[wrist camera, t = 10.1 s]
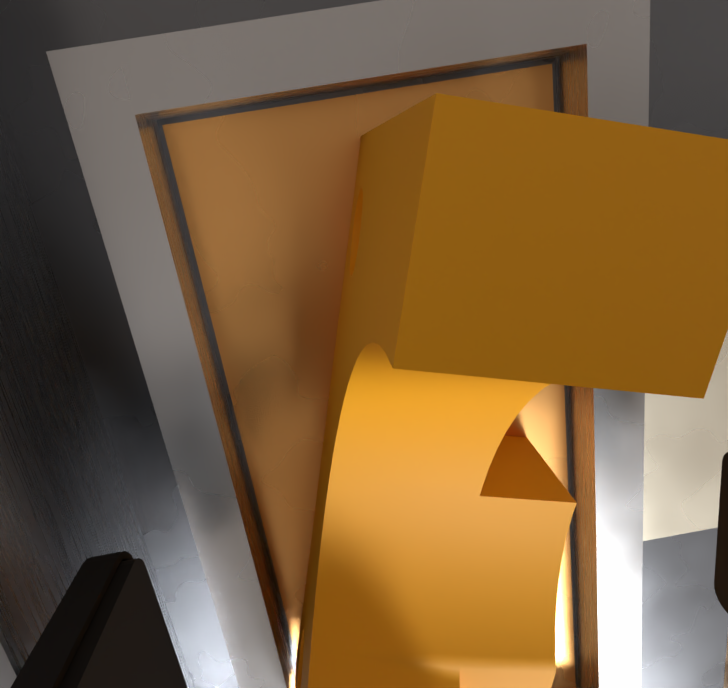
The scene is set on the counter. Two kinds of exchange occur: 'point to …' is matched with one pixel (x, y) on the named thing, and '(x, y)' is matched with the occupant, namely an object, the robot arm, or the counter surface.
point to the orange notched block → (492, 373)
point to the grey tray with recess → (301, 311)
